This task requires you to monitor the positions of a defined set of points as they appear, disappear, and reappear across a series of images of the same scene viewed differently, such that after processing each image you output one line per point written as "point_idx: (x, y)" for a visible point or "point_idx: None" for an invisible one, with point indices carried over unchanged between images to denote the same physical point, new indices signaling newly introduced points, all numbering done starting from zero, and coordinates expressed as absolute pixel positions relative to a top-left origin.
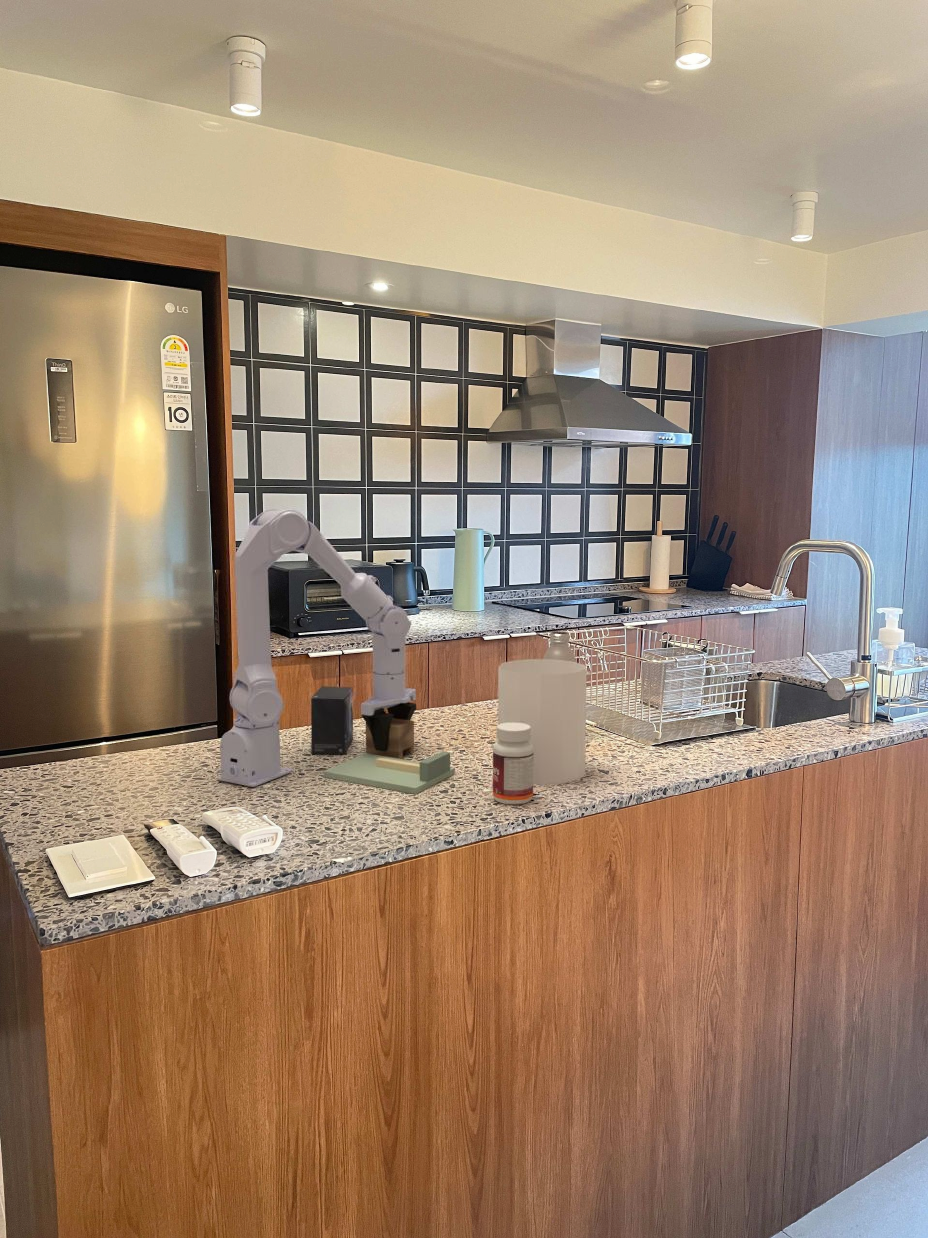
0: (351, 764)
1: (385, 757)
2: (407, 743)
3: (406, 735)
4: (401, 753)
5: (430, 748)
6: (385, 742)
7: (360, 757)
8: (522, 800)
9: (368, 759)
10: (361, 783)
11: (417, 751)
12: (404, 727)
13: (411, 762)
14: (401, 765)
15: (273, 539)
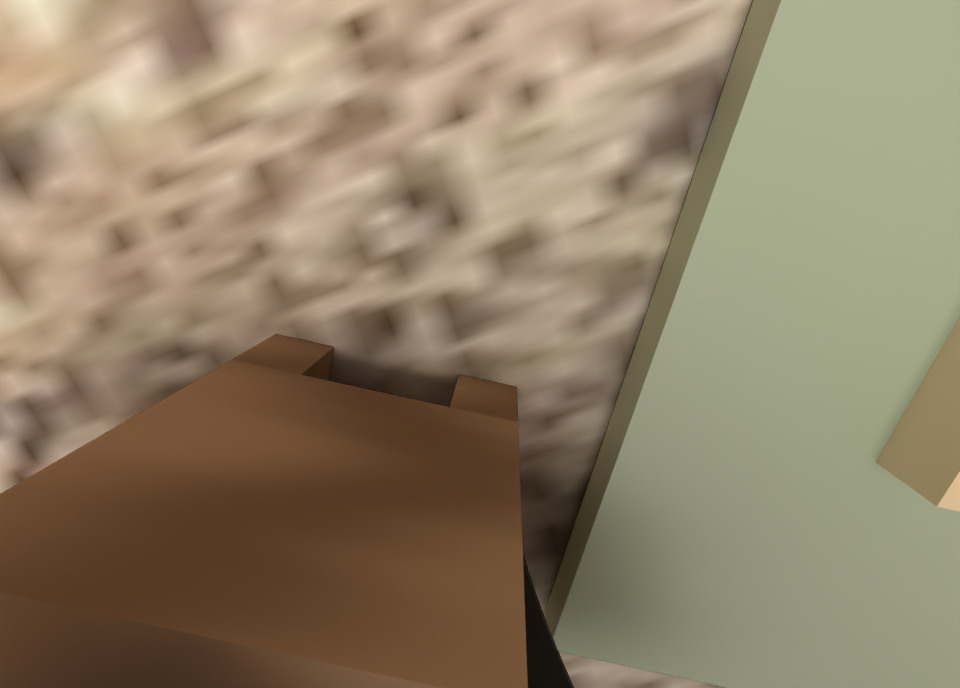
0: (883, 657)
1: (635, 488)
2: (338, 410)
3: (313, 473)
4: (471, 400)
5: (63, 250)
6: (542, 612)
7: (672, 654)
8: None
9: (719, 590)
10: None
11: (203, 330)
12: (302, 596)
13: (774, 185)
14: None
15: None
